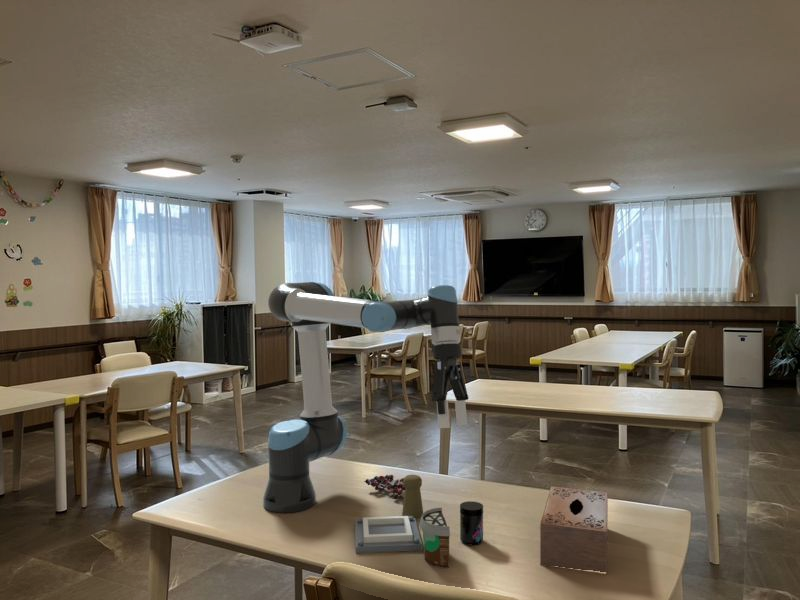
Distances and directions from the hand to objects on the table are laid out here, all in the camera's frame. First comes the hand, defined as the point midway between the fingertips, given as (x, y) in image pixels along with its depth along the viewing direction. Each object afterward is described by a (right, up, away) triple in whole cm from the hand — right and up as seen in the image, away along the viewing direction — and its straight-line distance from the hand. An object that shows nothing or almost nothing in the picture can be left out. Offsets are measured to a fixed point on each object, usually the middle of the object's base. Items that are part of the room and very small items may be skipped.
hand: (453, 426), depth 157 cm
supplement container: (+4, -28, -3) cm, 29 cm away
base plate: (-17, -28, -1) cm, 33 cm away
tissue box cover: (+30, -28, -6) cm, 42 cm away
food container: (-6, -29, -13) cm, 32 cm away
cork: (-10, -27, +14) cm, 32 cm away
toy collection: (-17, -27, +32) cm, 45 cm away
